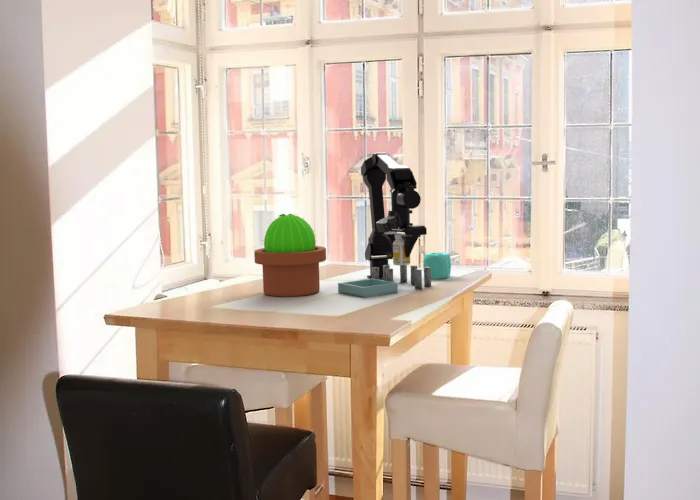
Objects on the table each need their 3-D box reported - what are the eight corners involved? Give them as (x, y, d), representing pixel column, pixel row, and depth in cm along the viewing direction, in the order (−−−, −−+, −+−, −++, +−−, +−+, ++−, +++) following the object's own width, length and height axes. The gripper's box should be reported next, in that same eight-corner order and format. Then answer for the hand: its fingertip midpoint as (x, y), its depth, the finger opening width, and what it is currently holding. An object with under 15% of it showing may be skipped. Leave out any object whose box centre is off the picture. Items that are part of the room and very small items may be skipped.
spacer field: (367, 285, 286) (366, 267, 285) (400, 281, 294) (400, 263, 293) (402, 291, 271) (402, 272, 271) (436, 286, 279) (436, 267, 279)
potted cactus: (317, 298, 264) (314, 214, 261) (247, 298, 268) (243, 215, 265) (333, 287, 285) (331, 209, 282) (268, 287, 289) (265, 210, 287)
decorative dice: (451, 275, 303) (450, 252, 302) (447, 279, 296) (446, 255, 295) (428, 275, 306) (427, 252, 305) (423, 278, 298) (423, 255, 297)
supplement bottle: (410, 263, 284) (409, 232, 283) (410, 265, 279) (409, 234, 278) (393, 263, 285) (392, 233, 284) (392, 265, 280) (392, 234, 279)
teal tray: (338, 292, 273) (338, 283, 273) (372, 288, 281) (371, 278, 281) (363, 297, 263) (363, 287, 263) (397, 292, 270) (397, 282, 270)
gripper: (362, 207, 283) (363, 256, 285) (399, 209, 268) (400, 261, 270) (389, 205, 289) (391, 253, 291) (427, 207, 274) (428, 257, 276)
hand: (401, 256), depth 282 cm, fingers closed on supplement bottle, 5 cm apart
